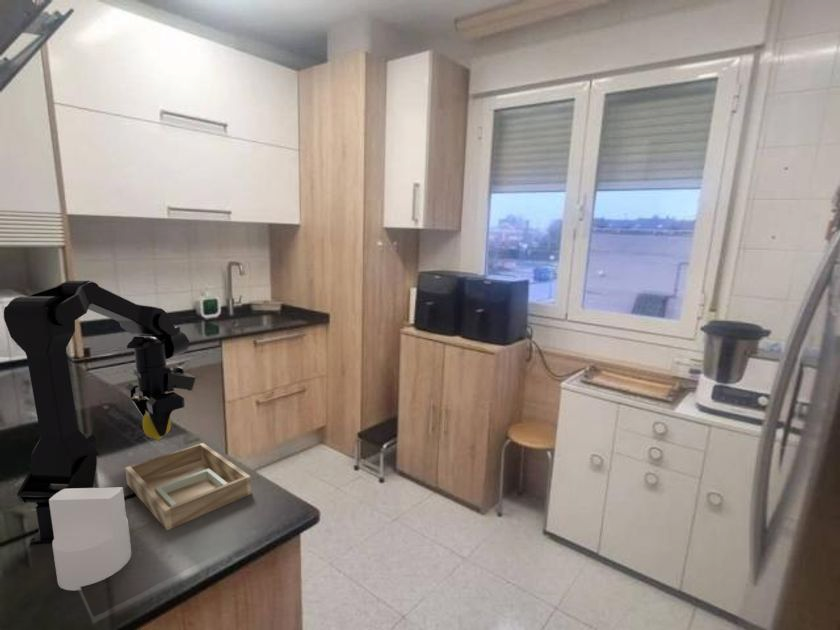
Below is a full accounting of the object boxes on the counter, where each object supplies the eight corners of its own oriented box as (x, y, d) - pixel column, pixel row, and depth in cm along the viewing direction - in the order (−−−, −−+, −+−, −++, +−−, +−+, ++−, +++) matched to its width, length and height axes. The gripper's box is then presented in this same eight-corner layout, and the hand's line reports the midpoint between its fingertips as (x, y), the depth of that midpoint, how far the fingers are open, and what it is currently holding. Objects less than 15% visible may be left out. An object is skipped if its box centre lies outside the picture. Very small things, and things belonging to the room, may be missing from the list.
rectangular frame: (231, 492, 85) (231, 485, 85) (175, 516, 78) (174, 508, 77) (209, 475, 92) (208, 468, 92) (155, 495, 84) (154, 487, 84)
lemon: (159, 446, 96) (156, 411, 95) (138, 444, 97) (134, 409, 96) (178, 435, 102) (175, 402, 100) (157, 433, 103) (154, 400, 102)
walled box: (251, 495, 85) (250, 476, 84) (167, 532, 74) (165, 511, 73) (204, 459, 100) (202, 442, 99) (127, 486, 89) (125, 467, 88)
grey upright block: (144, 546, 71) (136, 476, 69) (107, 589, 62) (97, 510, 60) (86, 548, 70) (77, 478, 68) (40, 591, 61) (29, 512, 60)
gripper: (206, 364, 97) (211, 432, 99) (174, 351, 109) (180, 412, 111) (149, 375, 88) (157, 449, 91) (122, 360, 101) (129, 425, 103)
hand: (157, 431), depth 99 cm, fingers closed on lemon, 5 cm apart
